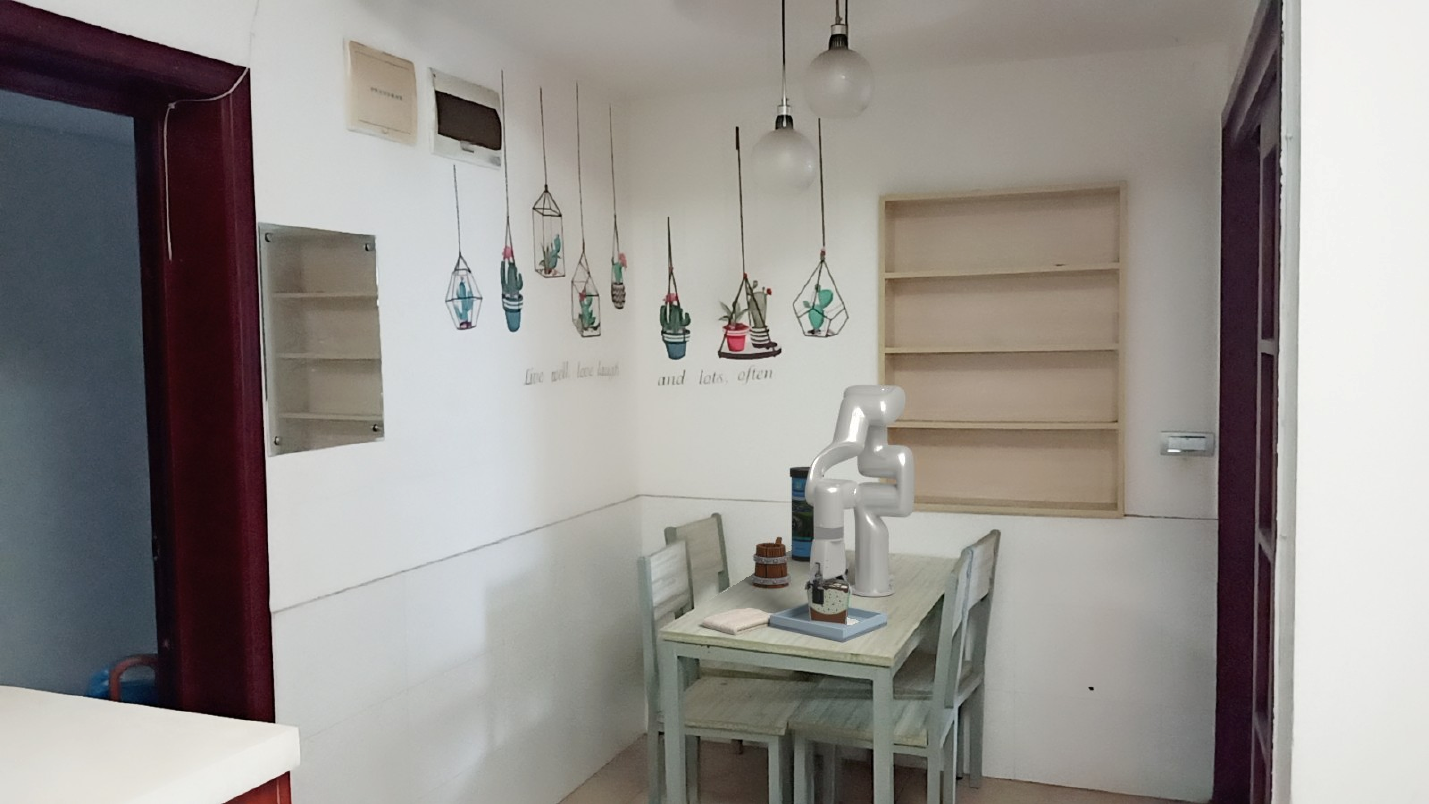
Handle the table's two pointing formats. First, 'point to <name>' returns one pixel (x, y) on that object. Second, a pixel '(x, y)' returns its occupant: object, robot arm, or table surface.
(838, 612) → the food container
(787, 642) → the table surface
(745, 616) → the washcloth
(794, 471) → the advertising column
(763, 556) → the mug
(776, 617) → the tray
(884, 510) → the robot arm
